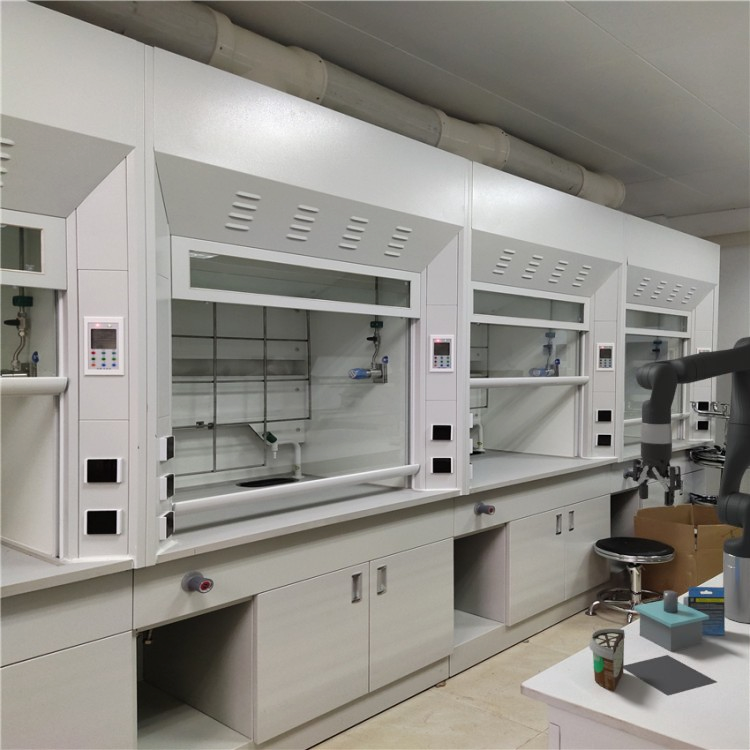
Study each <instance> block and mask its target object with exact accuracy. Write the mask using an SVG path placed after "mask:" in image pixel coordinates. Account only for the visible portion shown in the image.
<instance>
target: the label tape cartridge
mask: <svg viewBox="0 0 750 750" xmlns="http://www.w3.org/2000/svg"><path fill="white" fill-rule="evenodd" d="M706 591H707V592H710V593H704V592H706ZM701 592H703V593H701ZM682 599H683V600H682V602H683V603H682V604H683V605H686V606H688V607H690V608H693V609H695V610H697V611H699V612H702V613H704V614H706V615H709V619H707V620H703V622H702V636H704V635H705V636H709V635H711V636H725V631H726V630H725V629H726V627H725V623H726V621H725V619H726V617H725V599H724V587H723V586H722V587H721V586H719V587H717V586H715V587H714V586H712V587H711V586H688V596H684V597H683V598H682Z"/></svg>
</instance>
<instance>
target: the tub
mask: <svg viewBox="0 0 750 750" xmlns="http://www.w3.org/2000/svg"><path fill="white" fill-rule="evenodd" d="M702 622H703V620H702V621H698V622H693V623H689V624H684V625H680V626H675V627H669V626H667V625H665V624H663V623H661V622H659V621H657V620H655V619H652V618H650V617H648V616H646V615H644V614H642V613H640V612H639V636H640V637H642V638H644V639H646V640H648V641H650V642H652V643H653V644H655V645H657V646H659V647H661V648H663V649H664V650H667V651H669V652H670V653H671V652H675V651H680V650H685V649H689V648H693V647H697V646H701V645H703V635H702Z"/></svg>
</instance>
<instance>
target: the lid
mask: <svg viewBox="0 0 750 750" xmlns="http://www.w3.org/2000/svg"><path fill="white" fill-rule="evenodd" d="M678 596H679V593H678V592H677V591H674V590H664V591H663V599H662V600H658V601H653V602H648V603H643V604H637V605H634V606H633V610H634V611H637V612H638V613H639V614H640V613H642V614H644V615H646V616H648V617H650V618H652V619H655V620H657V621H659V622H661V623H663V624H665V625H667V626H669V627H675V626H680V625H684V624H689V623H693V622H698V621H702V620H707V619H709V615H706V614H704V613H702V612H699V611H697V610H695V609H693V608H690V607H688V606H686V605H683V603H681V602H679V597H678Z"/></svg>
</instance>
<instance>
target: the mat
mask: <svg viewBox="0 0 750 750" xmlns="http://www.w3.org/2000/svg"><path fill="white" fill-rule="evenodd" d="M623 670H625V671H627V672H628V673H629V674H631V675H633V676H635V677H636V678H638V679H640V680H641V681H643V682H644V683H646V684H648V685H649V686H651V687H653V688H654V689H656V690H657V691H660V692H661V693H662V694H664V695H666V696H670V695H671V696H672V695H675V694H680V693H682V692H685V691H690V690H693V689H698V688H701V687H704V686H709V685H712V684H715V683H718V681H717V680H715V679H713V678H711V677H709V676H707V675H705V673H702V672H700V671H698V670H696V669H694V668H692V667H691V666H689V665H687V664H685V663H683V662H682V661H680V660H679V659H678V660H677V659H676V658H674V657H672V656H670V655H668V654H666V655H662V656H658V657H653V658H648V659H646V660H641V661H637V662H632V663H629V664H624V668H623Z"/></svg>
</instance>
